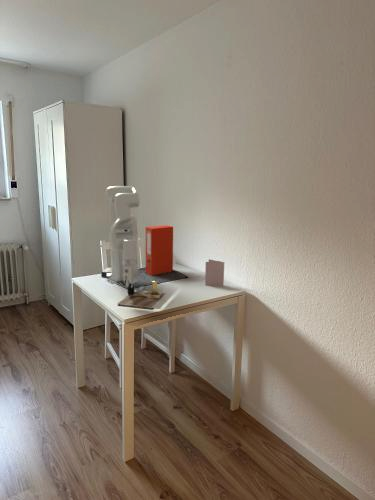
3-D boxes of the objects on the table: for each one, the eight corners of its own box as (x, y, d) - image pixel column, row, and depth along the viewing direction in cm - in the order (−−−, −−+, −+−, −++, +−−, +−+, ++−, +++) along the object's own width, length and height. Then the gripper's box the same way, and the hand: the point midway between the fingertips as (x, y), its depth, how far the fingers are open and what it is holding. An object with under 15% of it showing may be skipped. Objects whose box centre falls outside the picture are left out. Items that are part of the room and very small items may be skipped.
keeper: (137, 297, 195) (137, 289, 194) (142, 292, 202) (142, 285, 201) (140, 297, 194) (140, 290, 194) (145, 293, 201) (145, 286, 200)
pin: (153, 295, 197) (153, 280, 195) (157, 296, 197) (157, 280, 195) (151, 297, 195) (151, 281, 193) (156, 297, 194) (156, 282, 192)
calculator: (123, 273, 233) (101, 271, 235) (122, 279, 234) (101, 277, 236) (128, 268, 244) (107, 266, 246) (127, 274, 245) (106, 272, 247)
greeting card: (224, 285, 222) (225, 261, 219) (217, 288, 217) (218, 264, 213) (208, 281, 229) (209, 259, 226) (202, 284, 223) (202, 261, 220)
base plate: (117, 306, 186) (117, 303, 185) (134, 292, 206) (134, 290, 206) (152, 310, 181) (152, 307, 181) (165, 295, 202) (165, 293, 201)
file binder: (172, 271, 251) (173, 226, 244) (151, 275, 240) (151, 228, 233) (166, 269, 257) (166, 225, 250) (145, 272, 247) (145, 227, 240)
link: (162, 294, 198) (162, 291, 198) (158, 298, 192) (158, 294, 192) (130, 292, 202) (130, 288, 201) (126, 295, 196) (126, 292, 195)
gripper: (131, 265, 183) (131, 299, 187) (142, 259, 197) (142, 290, 201) (117, 264, 185) (118, 298, 189) (129, 258, 199) (130, 289, 203)
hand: (131, 294), depth 195 cm, fingers closed
